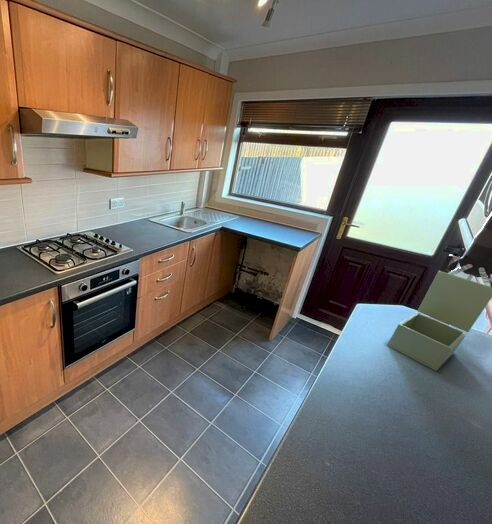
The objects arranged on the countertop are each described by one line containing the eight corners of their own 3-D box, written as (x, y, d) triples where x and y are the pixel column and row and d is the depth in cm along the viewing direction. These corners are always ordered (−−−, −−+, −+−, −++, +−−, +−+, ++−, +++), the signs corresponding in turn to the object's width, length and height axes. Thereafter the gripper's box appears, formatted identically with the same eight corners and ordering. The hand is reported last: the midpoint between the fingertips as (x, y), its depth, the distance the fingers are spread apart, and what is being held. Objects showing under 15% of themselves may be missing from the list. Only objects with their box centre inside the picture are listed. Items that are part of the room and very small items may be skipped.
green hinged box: (435, 371, 84) (451, 348, 80) (386, 345, 94) (398, 324, 90) (452, 354, 92) (467, 333, 88) (405, 331, 101) (417, 311, 98)
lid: (496, 289, 79) (503, 282, 82) (438, 271, 89) (445, 265, 91) (467, 332, 88) (475, 324, 90) (417, 311, 97) (424, 304, 100)
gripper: (532, 251, 78) (496, 300, 85) (461, 235, 89) (435, 280, 96) (526, 255, 75) (490, 306, 82) (454, 238, 86) (427, 284, 93)
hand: (460, 292), depth 89 cm, fingers open, 7 cm apart
